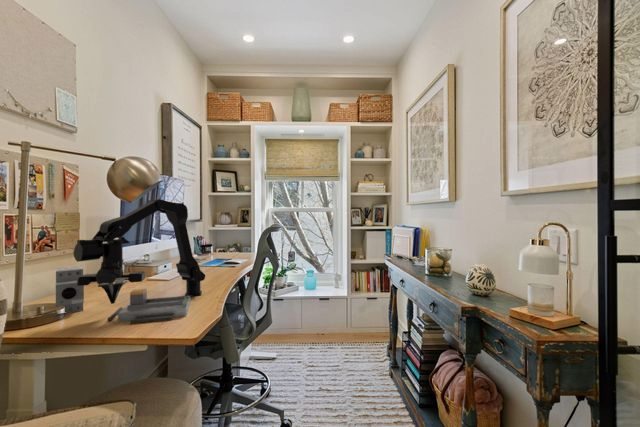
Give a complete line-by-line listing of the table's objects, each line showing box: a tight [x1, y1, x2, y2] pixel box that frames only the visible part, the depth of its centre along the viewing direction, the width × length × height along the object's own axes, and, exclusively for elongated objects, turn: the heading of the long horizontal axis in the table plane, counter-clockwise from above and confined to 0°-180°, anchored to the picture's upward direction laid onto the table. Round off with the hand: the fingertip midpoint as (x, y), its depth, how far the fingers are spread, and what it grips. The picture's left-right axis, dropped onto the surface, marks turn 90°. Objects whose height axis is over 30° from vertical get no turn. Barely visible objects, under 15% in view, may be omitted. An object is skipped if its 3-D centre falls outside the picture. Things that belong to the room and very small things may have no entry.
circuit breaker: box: [55, 266, 85, 314], centre depth 111 cm, size 8×14×15 cm, turn 39°
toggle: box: [129, 288, 148, 305], centre depth 109 cm, size 5×4×5 cm
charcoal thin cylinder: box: [129, 316, 173, 325], centre depth 100 cm, size 12×1×1 cm, turn 108°
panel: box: [117, 295, 191, 323], centre depth 110 cm, size 16×20×4 cm
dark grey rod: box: [107, 306, 124, 322], centre depth 107 cm, size 12×1×1 cm, turn 18°
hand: (112, 303), depth 106 cm, fingers closed
